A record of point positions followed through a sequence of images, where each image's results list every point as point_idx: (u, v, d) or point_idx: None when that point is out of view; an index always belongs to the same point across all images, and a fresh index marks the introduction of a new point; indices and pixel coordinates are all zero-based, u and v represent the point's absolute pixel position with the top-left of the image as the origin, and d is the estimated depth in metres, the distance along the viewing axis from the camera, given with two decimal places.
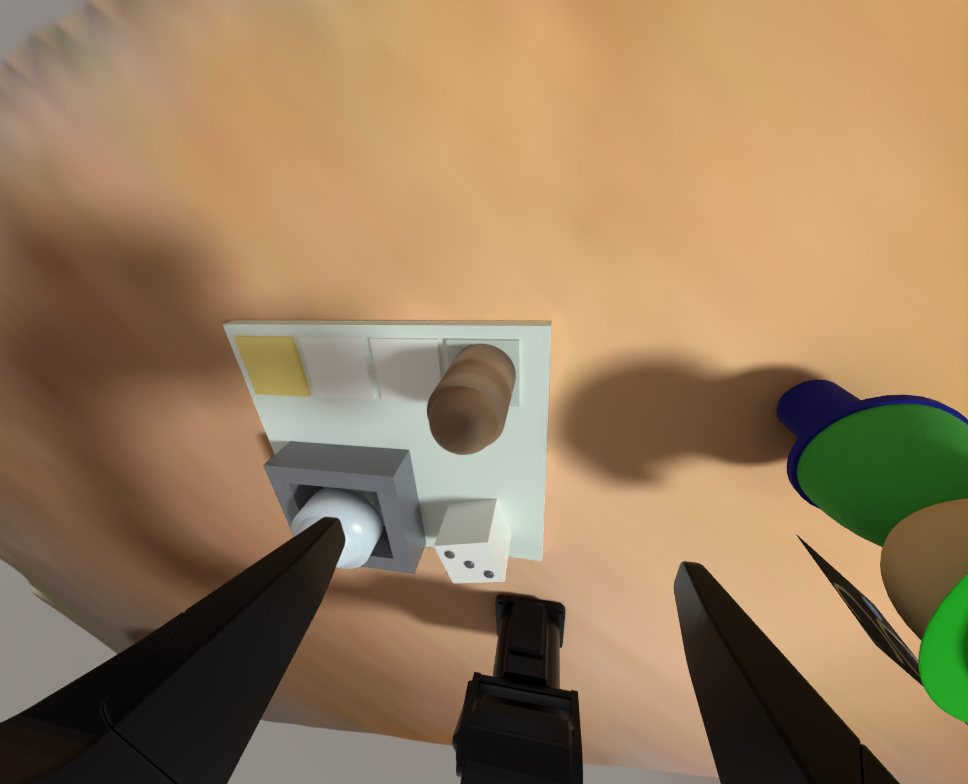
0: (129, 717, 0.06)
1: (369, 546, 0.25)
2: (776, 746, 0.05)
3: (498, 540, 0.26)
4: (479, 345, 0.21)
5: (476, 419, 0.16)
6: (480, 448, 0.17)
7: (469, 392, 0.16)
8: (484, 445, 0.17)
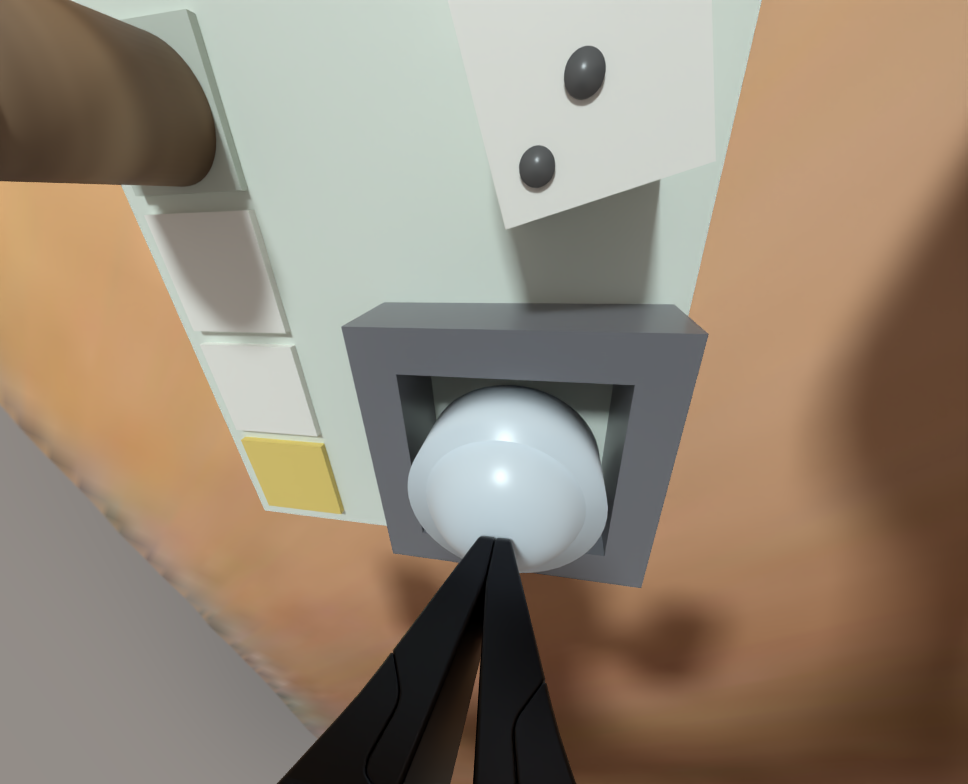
0: None
1: (507, 421, 0.09)
2: None
3: None
4: None
5: None
6: None
7: None
8: None
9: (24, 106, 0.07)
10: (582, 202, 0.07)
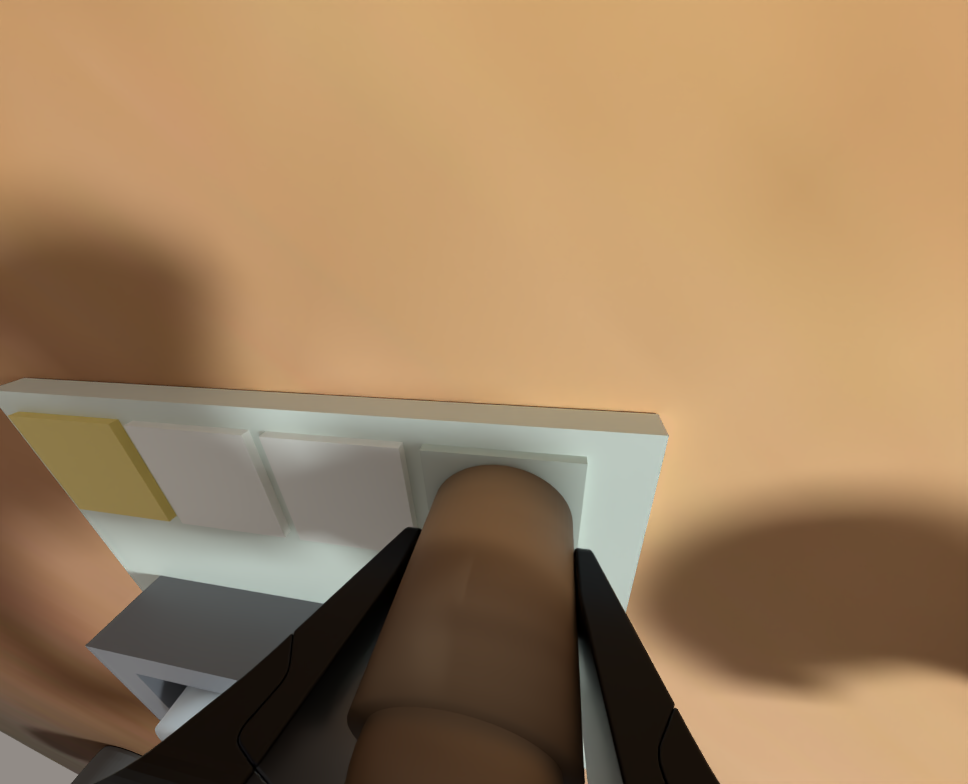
0: (265, 753, 0.05)
1: None
2: (602, 710, 0.06)
3: None
4: (499, 473, 0.09)
5: None
6: None
7: (482, 766, 0.05)
8: None
9: None
10: None
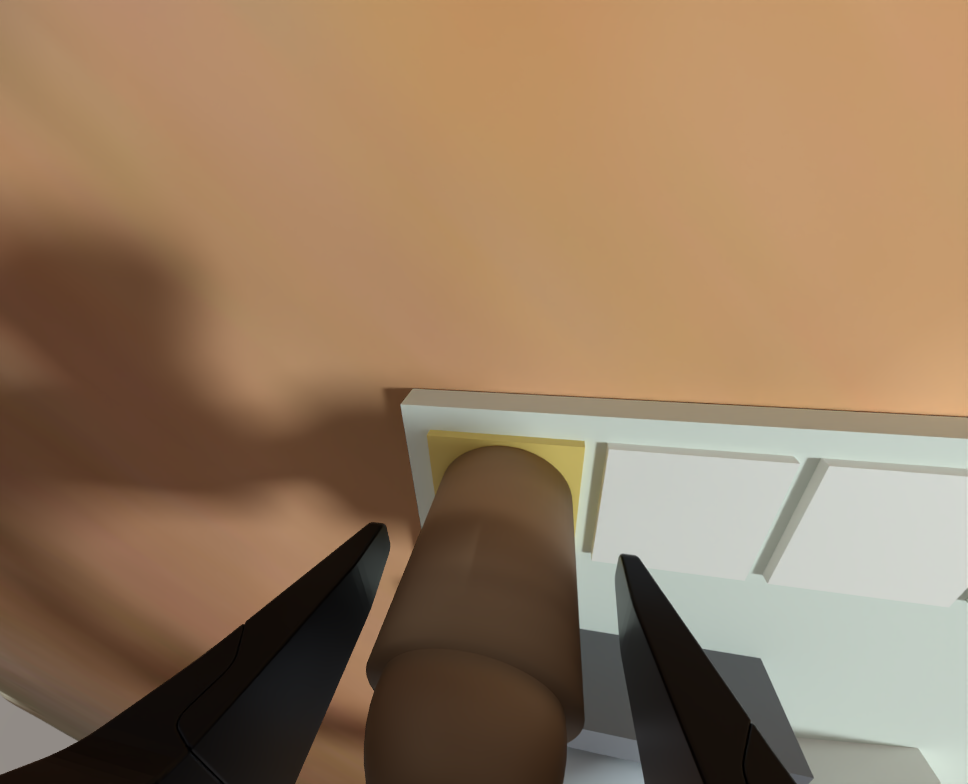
0: (203, 738, 0.05)
1: None
2: (674, 725, 0.05)
3: None
4: (504, 453, 0.10)
5: None
6: None
7: (493, 695, 0.05)
8: None
9: None
10: None
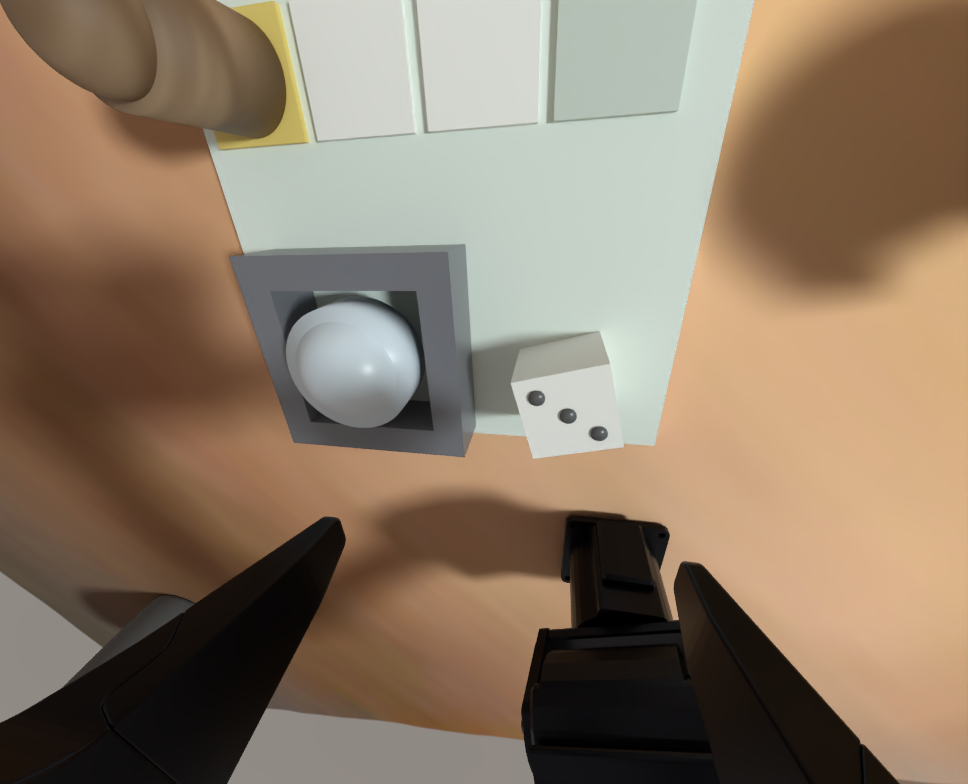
0: (129, 717, 0.06)
1: (409, 378, 0.16)
2: (776, 746, 0.05)
3: None
4: None
5: None
6: (92, 45, 0.09)
7: None
8: (97, 38, 0.09)
9: None
10: (521, 416, 0.15)
